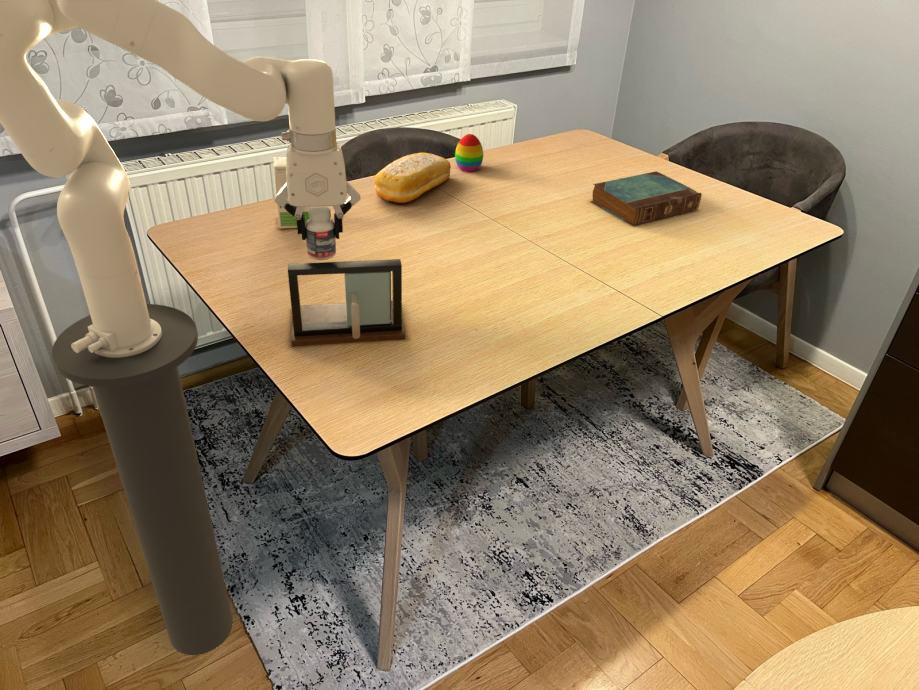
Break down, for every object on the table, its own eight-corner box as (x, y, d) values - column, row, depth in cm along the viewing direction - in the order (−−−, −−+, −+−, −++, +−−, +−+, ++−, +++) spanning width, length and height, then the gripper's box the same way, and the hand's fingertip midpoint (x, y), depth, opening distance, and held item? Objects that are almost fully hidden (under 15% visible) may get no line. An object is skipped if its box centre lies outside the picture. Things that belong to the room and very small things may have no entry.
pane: (393, 341, 132) (392, 289, 126) (348, 344, 131) (346, 291, 125) (389, 321, 138) (389, 270, 132) (347, 323, 137) (344, 272, 130)
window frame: (405, 339, 138) (405, 268, 129) (292, 346, 134) (284, 273, 126) (398, 305, 148) (398, 237, 139) (292, 310, 145) (286, 241, 136)
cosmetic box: (278, 229, 174) (271, 166, 165) (278, 217, 179) (272, 156, 171) (314, 227, 176) (309, 165, 167) (313, 216, 181) (308, 155, 172)
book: (633, 226, 184) (637, 208, 181) (589, 201, 196) (592, 183, 194) (698, 210, 194) (702, 193, 191) (652, 187, 207) (655, 170, 204)
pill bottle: (317, 263, 132) (313, 218, 127) (302, 253, 135) (298, 208, 130) (341, 255, 135) (339, 211, 130) (326, 245, 138) (323, 201, 133)
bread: (365, 200, 191) (364, 171, 186) (414, 168, 210) (414, 141, 206) (409, 211, 186) (410, 181, 181) (456, 178, 206) (457, 150, 201)
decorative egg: (461, 161, 217) (462, 128, 212) (486, 166, 215) (488, 132, 209) (450, 170, 211) (451, 136, 205) (476, 175, 208) (478, 141, 203)
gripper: (260, 147, 118) (271, 247, 128) (366, 145, 121) (369, 243, 131) (262, 132, 124) (273, 229, 134) (363, 130, 127) (366, 226, 137)
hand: (320, 235), depth 133 cm, fingers closed on pill bottle, 5 cm apart
